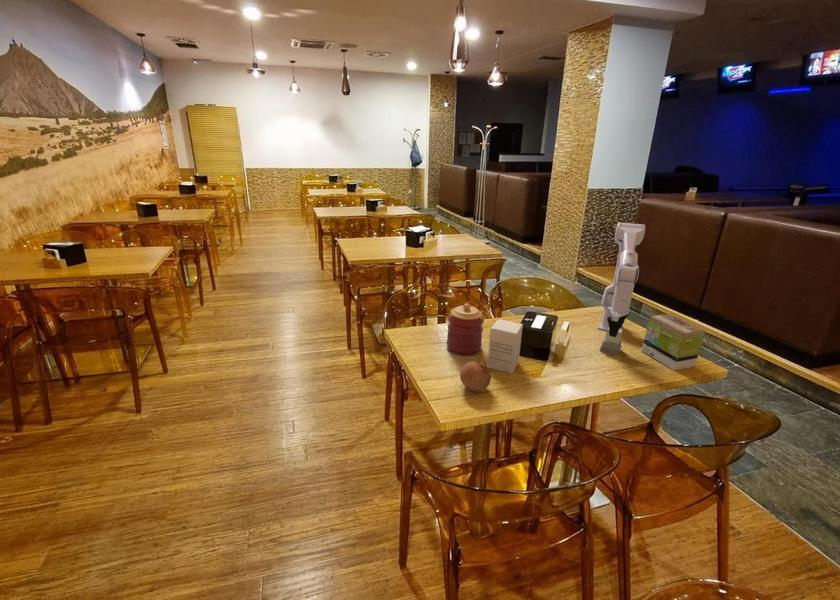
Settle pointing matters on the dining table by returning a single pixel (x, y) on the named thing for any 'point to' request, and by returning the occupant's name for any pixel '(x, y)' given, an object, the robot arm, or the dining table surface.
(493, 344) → the supplement box
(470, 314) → the canister
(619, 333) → the sage block
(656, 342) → the tea box
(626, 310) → the robot arm
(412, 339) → the dining table surface
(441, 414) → the dining table surface
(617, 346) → the slab top
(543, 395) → the dining table surface
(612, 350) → the slab bottom
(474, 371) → the onion
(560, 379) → the dining table surface
